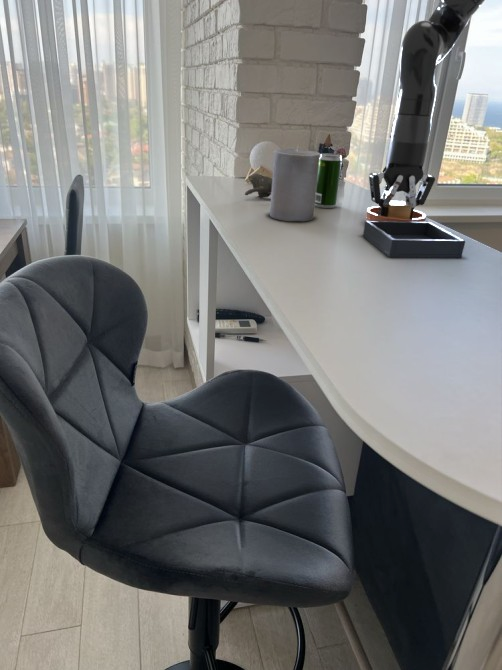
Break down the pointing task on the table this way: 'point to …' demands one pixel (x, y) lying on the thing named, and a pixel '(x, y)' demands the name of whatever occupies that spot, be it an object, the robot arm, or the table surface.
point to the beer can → (328, 180)
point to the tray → (413, 239)
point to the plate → (373, 216)
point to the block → (399, 210)
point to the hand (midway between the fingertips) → (393, 223)
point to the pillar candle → (294, 184)
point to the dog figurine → (260, 185)
